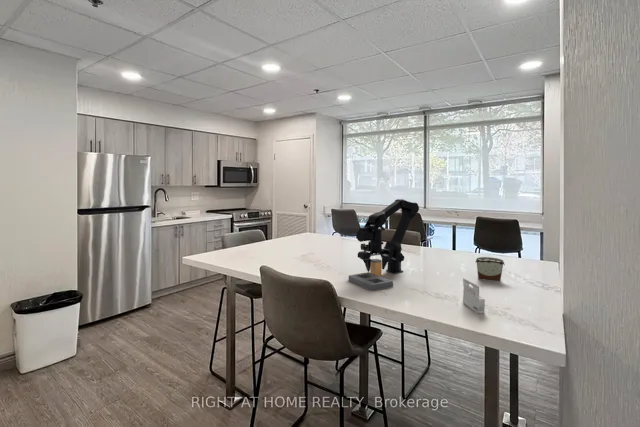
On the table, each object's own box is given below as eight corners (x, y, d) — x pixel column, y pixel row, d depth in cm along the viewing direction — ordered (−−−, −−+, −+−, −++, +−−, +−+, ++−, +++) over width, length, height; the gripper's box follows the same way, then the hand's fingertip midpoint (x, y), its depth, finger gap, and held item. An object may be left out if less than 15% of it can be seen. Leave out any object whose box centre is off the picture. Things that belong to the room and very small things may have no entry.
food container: (502, 278, 158) (503, 258, 158) (504, 282, 153) (504, 260, 152) (474, 275, 164) (475, 256, 163) (474, 279, 158) (475, 258, 157)
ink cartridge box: (468, 302, 127) (469, 277, 126) (484, 313, 116) (485, 286, 115) (462, 302, 127) (462, 277, 126) (478, 313, 116) (479, 286, 115)
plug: (376, 273, 169) (376, 258, 169) (381, 275, 166) (381, 260, 165) (370, 274, 167) (370, 259, 167) (375, 276, 164) (375, 261, 163)
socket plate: (368, 277, 163) (368, 272, 163) (392, 286, 147) (393, 281, 147) (348, 280, 158) (348, 275, 157) (371, 291, 142) (371, 285, 142)
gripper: (380, 236, 176) (380, 264, 178) (351, 239, 168) (351, 269, 169) (394, 239, 167) (394, 269, 168) (364, 242, 158) (364, 274, 159)
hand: (375, 270), depth 166 cm, fingers open, 9 cm apart
